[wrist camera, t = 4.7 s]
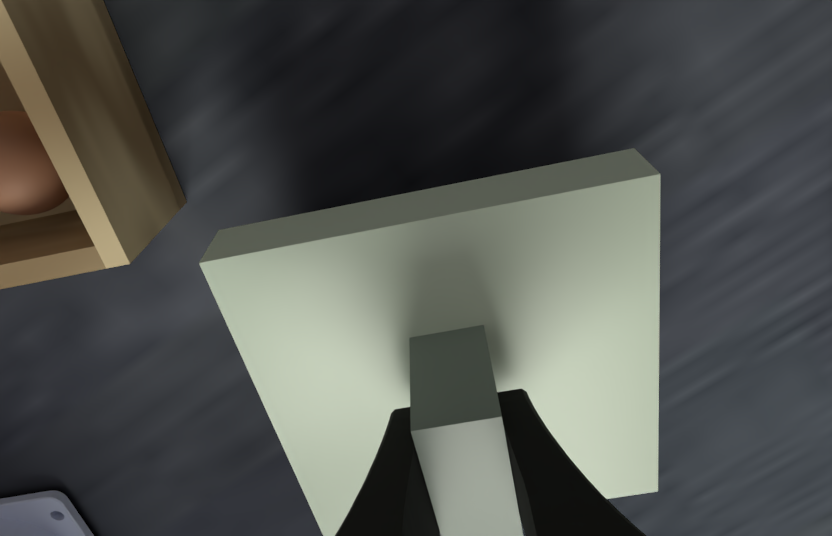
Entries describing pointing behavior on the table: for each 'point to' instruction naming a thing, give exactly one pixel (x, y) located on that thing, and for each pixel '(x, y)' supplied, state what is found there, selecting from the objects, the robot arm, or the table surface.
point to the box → (74, 146)
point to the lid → (457, 331)
